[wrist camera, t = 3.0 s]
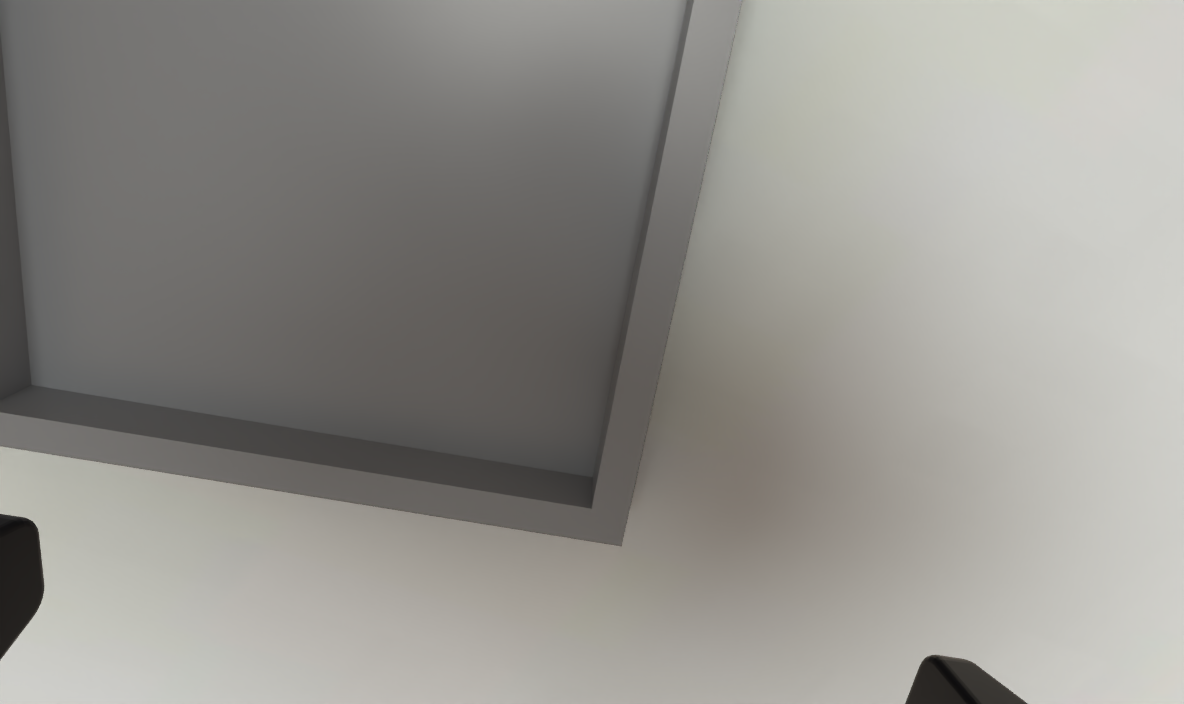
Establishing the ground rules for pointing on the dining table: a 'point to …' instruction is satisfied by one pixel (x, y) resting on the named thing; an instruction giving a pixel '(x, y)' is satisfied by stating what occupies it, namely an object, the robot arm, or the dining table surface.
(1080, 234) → the dining table surface
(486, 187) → the tray
